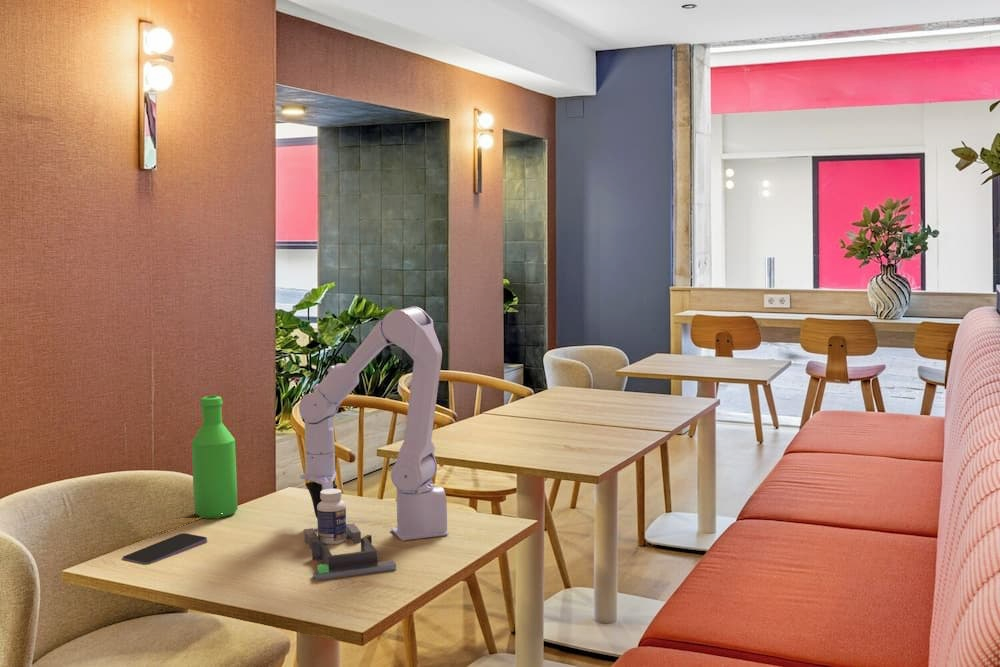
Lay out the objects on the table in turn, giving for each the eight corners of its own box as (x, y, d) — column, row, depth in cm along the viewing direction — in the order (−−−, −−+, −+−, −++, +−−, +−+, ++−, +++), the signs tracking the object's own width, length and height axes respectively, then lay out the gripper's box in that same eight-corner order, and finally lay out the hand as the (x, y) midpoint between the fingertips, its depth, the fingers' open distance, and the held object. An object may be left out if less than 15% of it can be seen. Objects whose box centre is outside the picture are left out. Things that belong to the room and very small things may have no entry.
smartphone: (119, 557, 178) (182, 532, 191) (119, 563, 178) (182, 538, 191) (147, 563, 175) (209, 537, 188) (147, 569, 175) (210, 543, 188)
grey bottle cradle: (379, 549, 182) (378, 533, 182) (396, 569, 171) (395, 553, 170) (303, 559, 177) (302, 542, 177) (315, 580, 166) (315, 563, 165)
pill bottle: (340, 546, 184) (339, 495, 183) (313, 544, 185) (312, 494, 184) (350, 537, 189) (349, 488, 188) (324, 535, 190) (322, 486, 189)
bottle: (197, 522, 201) (191, 401, 198) (192, 511, 209) (186, 395, 206) (241, 516, 204) (236, 398, 202) (234, 506, 212) (229, 392, 210)
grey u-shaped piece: (354, 533, 192) (353, 523, 192) (361, 542, 186) (360, 531, 186) (304, 539, 188) (304, 529, 188) (309, 548, 183) (309, 538, 183)
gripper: (293, 445, 200) (295, 510, 202) (306, 461, 187) (308, 530, 188) (328, 442, 203) (330, 506, 204) (342, 457, 189) (344, 526, 191)
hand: (322, 517), depth 196 cm, fingers closed
